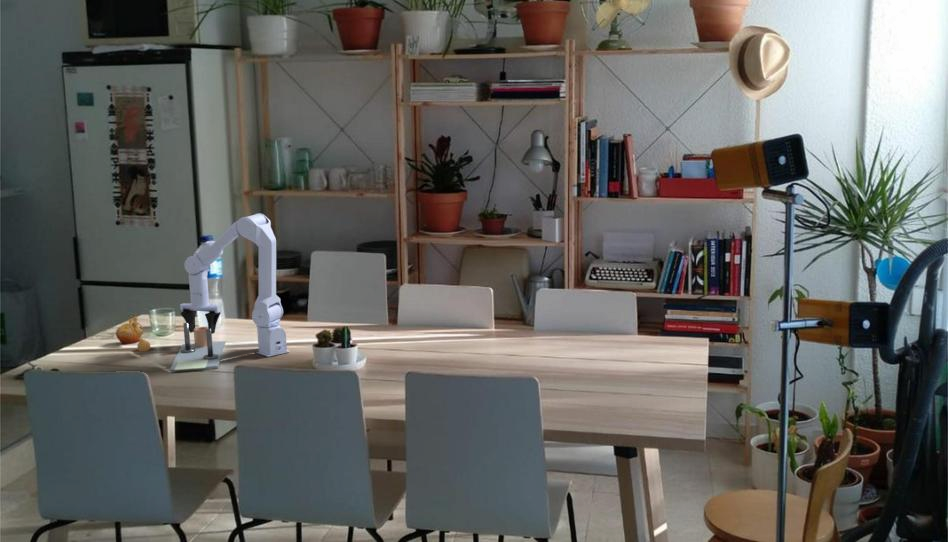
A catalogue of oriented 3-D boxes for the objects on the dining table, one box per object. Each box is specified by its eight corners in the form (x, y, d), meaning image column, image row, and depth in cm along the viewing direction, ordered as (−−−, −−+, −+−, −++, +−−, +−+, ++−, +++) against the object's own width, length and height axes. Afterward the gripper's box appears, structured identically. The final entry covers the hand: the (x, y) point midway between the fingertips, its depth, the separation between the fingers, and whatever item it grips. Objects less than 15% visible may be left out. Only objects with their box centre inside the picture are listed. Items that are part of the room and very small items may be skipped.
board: (182, 346, 335) (182, 343, 335) (226, 343, 337) (225, 341, 337) (170, 371, 306) (169, 369, 306) (217, 368, 308) (217, 365, 308)
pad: (178, 362, 314) (178, 361, 314) (208, 360, 315) (208, 359, 315) (174, 370, 305) (174, 369, 305) (205, 368, 306) (205, 367, 306)
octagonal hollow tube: (214, 344, 333) (212, 328, 332) (199, 347, 330) (198, 331, 329) (206, 342, 337) (205, 325, 336) (192, 344, 334) (191, 328, 333)
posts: (178, 351, 326) (176, 323, 324) (190, 348, 329) (188, 320, 327) (208, 360, 314) (206, 331, 313) (220, 357, 318) (218, 328, 316)
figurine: (146, 355, 325) (143, 319, 323) (127, 356, 325) (124, 319, 323) (154, 348, 333) (151, 313, 331) (136, 349, 333) (132, 313, 331)
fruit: (148, 335, 346) (141, 318, 341) (141, 352, 340) (134, 335, 335) (125, 335, 347) (118, 318, 341) (117, 352, 341) (110, 335, 335)
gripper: (225, 290, 331) (228, 331, 334) (188, 288, 336) (191, 328, 339) (212, 295, 325) (215, 336, 327) (174, 292, 330) (177, 333, 332)
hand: (202, 332), depth 333 cm, fingers open, 7 cm apart
